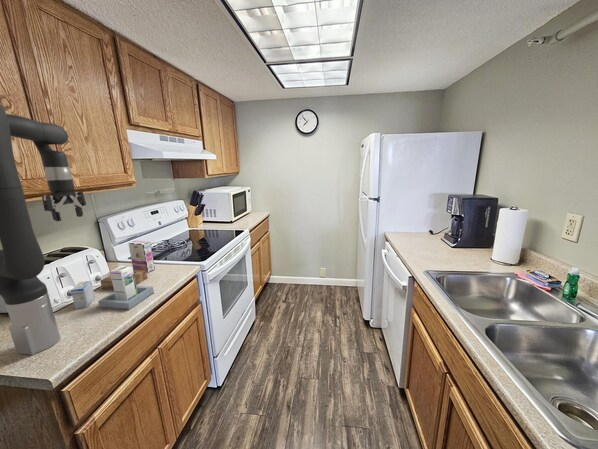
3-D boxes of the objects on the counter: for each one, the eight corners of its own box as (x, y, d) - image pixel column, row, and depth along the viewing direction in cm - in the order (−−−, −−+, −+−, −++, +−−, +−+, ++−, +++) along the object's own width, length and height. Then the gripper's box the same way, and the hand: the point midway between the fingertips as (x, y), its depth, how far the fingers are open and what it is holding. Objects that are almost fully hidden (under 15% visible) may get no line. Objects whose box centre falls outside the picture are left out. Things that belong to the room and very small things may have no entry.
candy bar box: (155, 269, 142) (151, 241, 138) (147, 273, 137) (143, 244, 133) (140, 267, 145) (136, 240, 142) (132, 270, 141) (127, 242, 137)
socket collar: (126, 290, 118) (125, 281, 117) (102, 289, 120) (100, 280, 119) (147, 278, 131) (146, 270, 130) (124, 276, 133) (123, 268, 132)
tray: (129, 309, 102) (128, 303, 101) (99, 307, 104) (98, 301, 104) (153, 292, 116) (152, 286, 115) (126, 291, 118) (125, 285, 117)
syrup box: (127, 303, 106) (121, 271, 103) (115, 302, 107) (109, 270, 104) (138, 296, 112) (132, 265, 108) (127, 295, 113) (121, 265, 109)
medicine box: (83, 300, 110) (78, 282, 108) (95, 298, 112) (91, 280, 110) (75, 309, 103) (70, 290, 101) (88, 307, 105) (83, 288, 103)
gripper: (47, 180, 92) (58, 223, 96) (85, 177, 106) (93, 215, 110) (30, 180, 94) (42, 222, 97) (70, 177, 107) (79, 215, 111)
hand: (69, 218), depth 104 cm, fingers open, 8 cm apart
